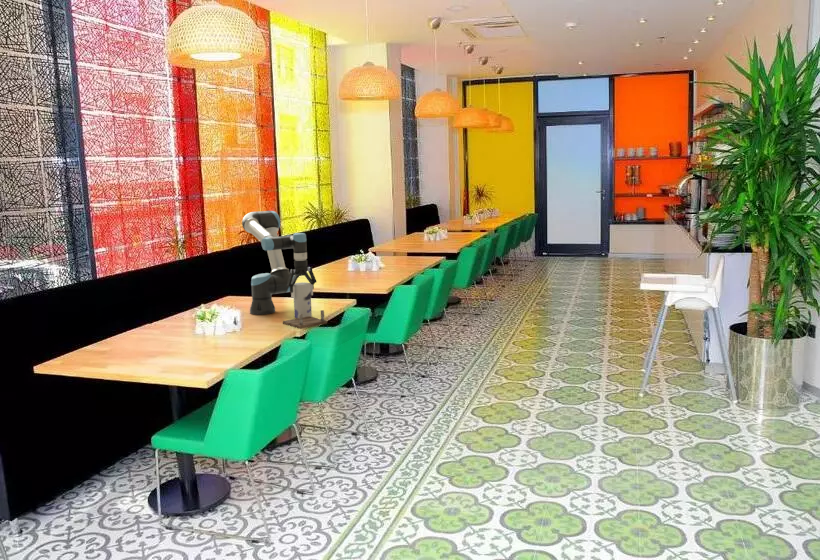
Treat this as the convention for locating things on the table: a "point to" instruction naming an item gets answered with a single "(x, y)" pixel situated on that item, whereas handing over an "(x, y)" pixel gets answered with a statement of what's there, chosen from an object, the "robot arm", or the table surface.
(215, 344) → the table surface
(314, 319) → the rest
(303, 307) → the container
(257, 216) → the robot arm
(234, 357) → the table surface
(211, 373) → the table surface
